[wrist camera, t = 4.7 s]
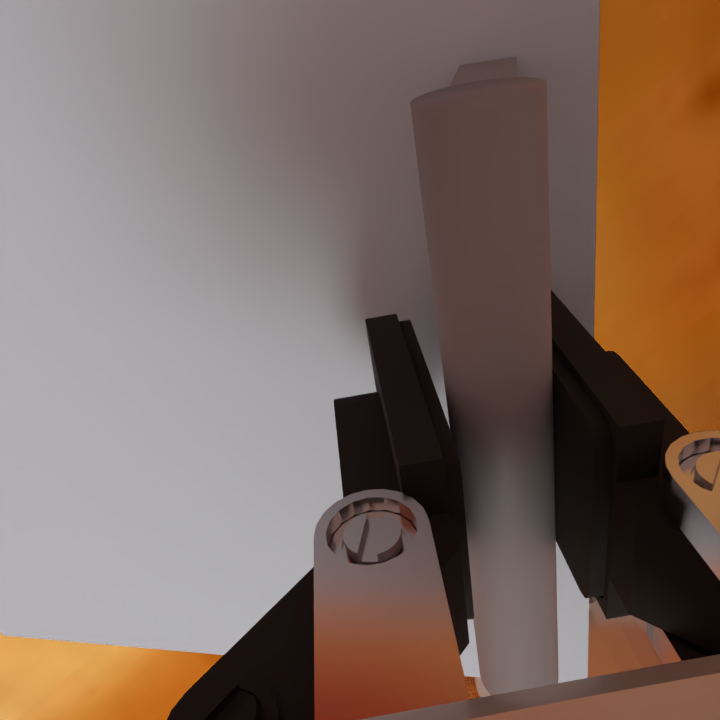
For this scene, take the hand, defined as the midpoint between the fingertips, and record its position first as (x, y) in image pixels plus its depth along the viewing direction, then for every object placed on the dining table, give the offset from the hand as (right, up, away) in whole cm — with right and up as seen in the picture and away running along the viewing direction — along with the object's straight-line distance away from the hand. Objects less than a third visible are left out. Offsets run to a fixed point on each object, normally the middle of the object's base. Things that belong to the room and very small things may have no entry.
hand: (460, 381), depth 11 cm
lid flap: (-6, +1, +3) cm, 7 cm away
